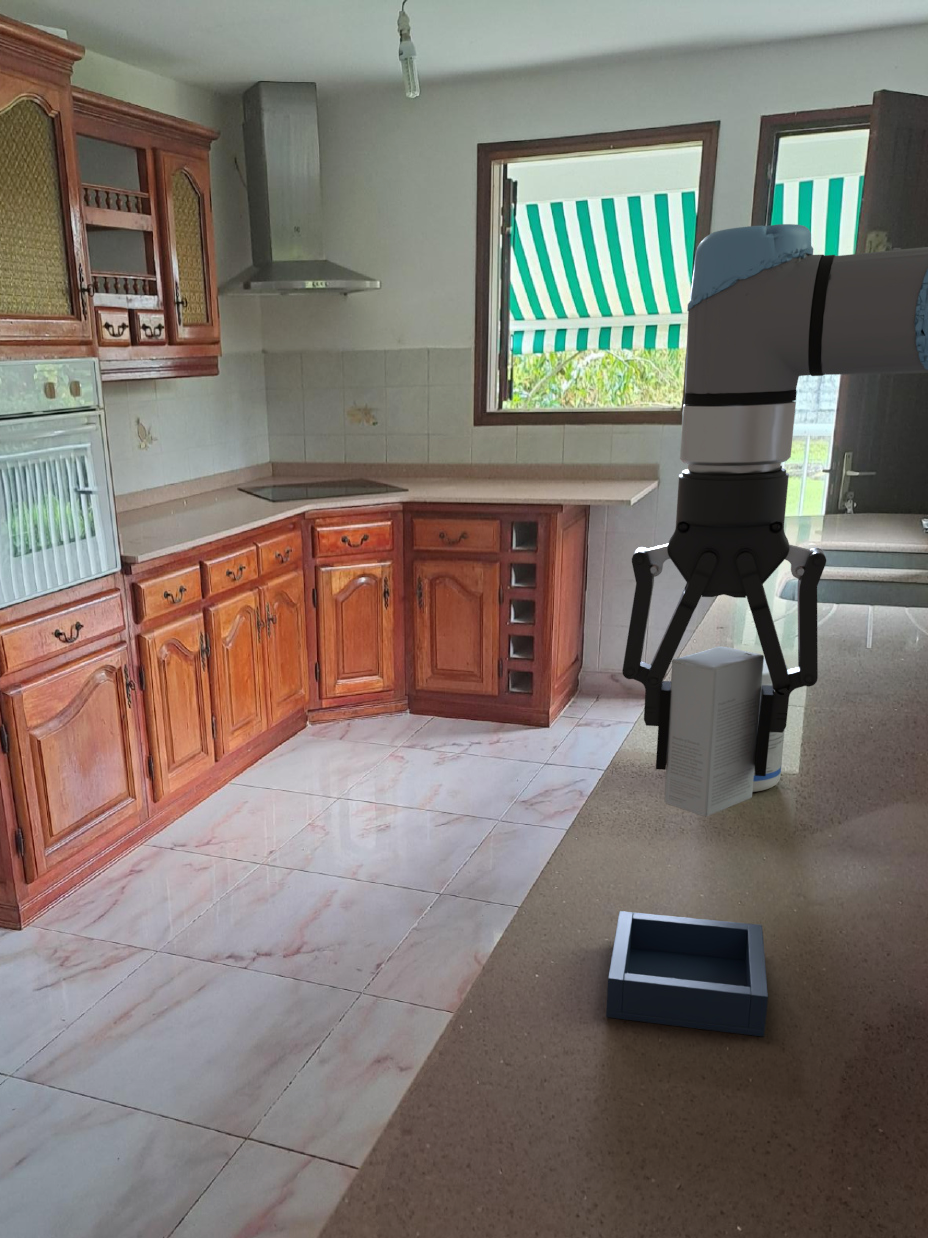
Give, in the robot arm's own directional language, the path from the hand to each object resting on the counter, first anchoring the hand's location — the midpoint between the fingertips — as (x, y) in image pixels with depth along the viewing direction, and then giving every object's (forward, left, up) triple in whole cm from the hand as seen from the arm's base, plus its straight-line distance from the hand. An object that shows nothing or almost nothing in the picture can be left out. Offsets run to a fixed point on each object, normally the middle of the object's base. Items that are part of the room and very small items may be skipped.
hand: (710, 766), depth 88 cm
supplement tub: (-4, -49, -19) cm, 52 cm away
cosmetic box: (0, 0, -3) cm, 3 cm away
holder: (+1, +2, -19) cm, 19 cm away
